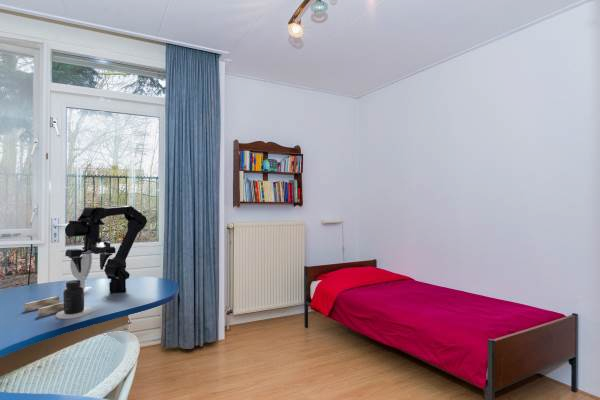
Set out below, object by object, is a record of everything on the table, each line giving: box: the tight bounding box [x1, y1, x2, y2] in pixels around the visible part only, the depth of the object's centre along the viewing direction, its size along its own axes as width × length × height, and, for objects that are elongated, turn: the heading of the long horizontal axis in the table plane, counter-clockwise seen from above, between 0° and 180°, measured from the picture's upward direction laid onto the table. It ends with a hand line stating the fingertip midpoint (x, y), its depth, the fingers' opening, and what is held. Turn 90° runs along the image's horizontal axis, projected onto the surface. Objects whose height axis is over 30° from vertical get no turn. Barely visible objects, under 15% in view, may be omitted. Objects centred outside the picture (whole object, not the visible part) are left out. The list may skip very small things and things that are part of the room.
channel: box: [24, 295, 64, 318], centre depth 143 cm, size 12×12×3 cm
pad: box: [55, 306, 93, 320], centre depth 139 cm, size 12×12×1 cm
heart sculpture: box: [69, 253, 93, 294], centre depth 170 cm, size 16×5×18 cm, turn 10°
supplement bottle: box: [62, 279, 85, 314], centre depth 139 cm, size 7×7×12 cm
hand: (90, 271), depth 155 cm, fingers open, 9 cm apart
